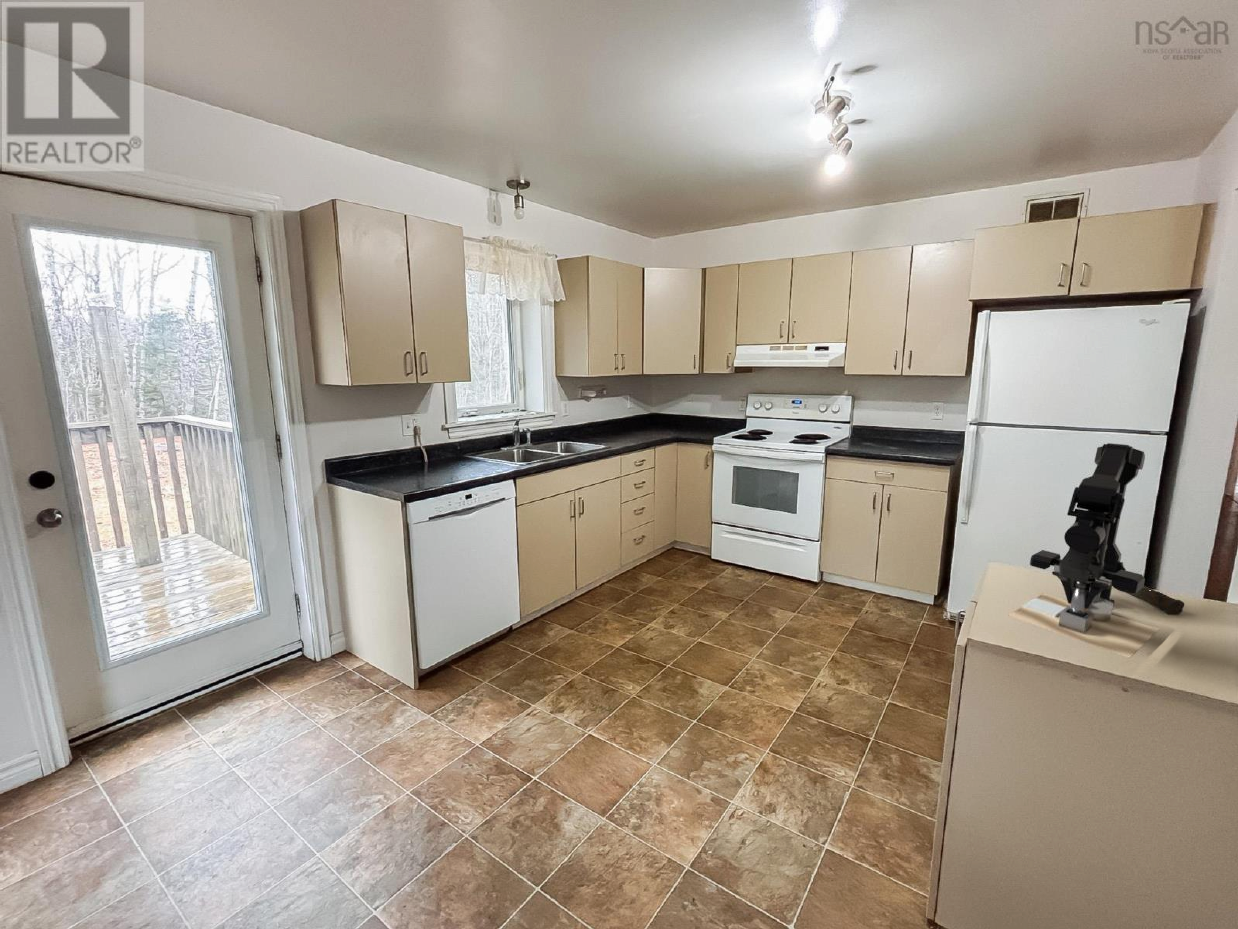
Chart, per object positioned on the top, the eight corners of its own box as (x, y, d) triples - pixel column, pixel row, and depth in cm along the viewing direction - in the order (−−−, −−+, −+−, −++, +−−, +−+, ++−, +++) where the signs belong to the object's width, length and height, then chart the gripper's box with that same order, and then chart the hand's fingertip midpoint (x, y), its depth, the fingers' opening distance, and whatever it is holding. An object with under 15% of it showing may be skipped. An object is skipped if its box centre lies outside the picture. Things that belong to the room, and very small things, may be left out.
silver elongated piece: (1078, 604, 133) (1082, 580, 132) (1115, 616, 127) (1119, 590, 126) (1052, 623, 125) (1056, 597, 123) (1090, 636, 119) (1095, 609, 118)
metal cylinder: (1065, 621, 123) (1072, 580, 121) (1070, 617, 125) (1077, 577, 123) (1080, 626, 121) (1088, 584, 119) (1085, 622, 122) (1092, 581, 120)
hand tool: (1184, 616, 130) (1187, 598, 129) (1166, 616, 130) (1170, 598, 129) (1115, 583, 149) (1118, 567, 148) (1100, 583, 149) (1103, 567, 148)
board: (1041, 599, 140) (1042, 593, 140) (1157, 635, 122) (1159, 628, 122) (1007, 621, 129) (1007, 615, 129) (1128, 664, 111) (1129, 657, 111)
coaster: (1034, 600, 136) (1034, 597, 136) (1065, 609, 131) (1066, 607, 131) (1023, 607, 133) (1023, 604, 133) (1055, 617, 128) (1055, 615, 127)
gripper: (1024, 536, 122) (1015, 599, 125) (1134, 562, 107) (1120, 633, 110) (1044, 526, 128) (1035, 587, 131) (1151, 549, 113) (1138, 618, 116)
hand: (1078, 605), depth 122 cm, fingers closed on metal cylinder, 3 cm apart
